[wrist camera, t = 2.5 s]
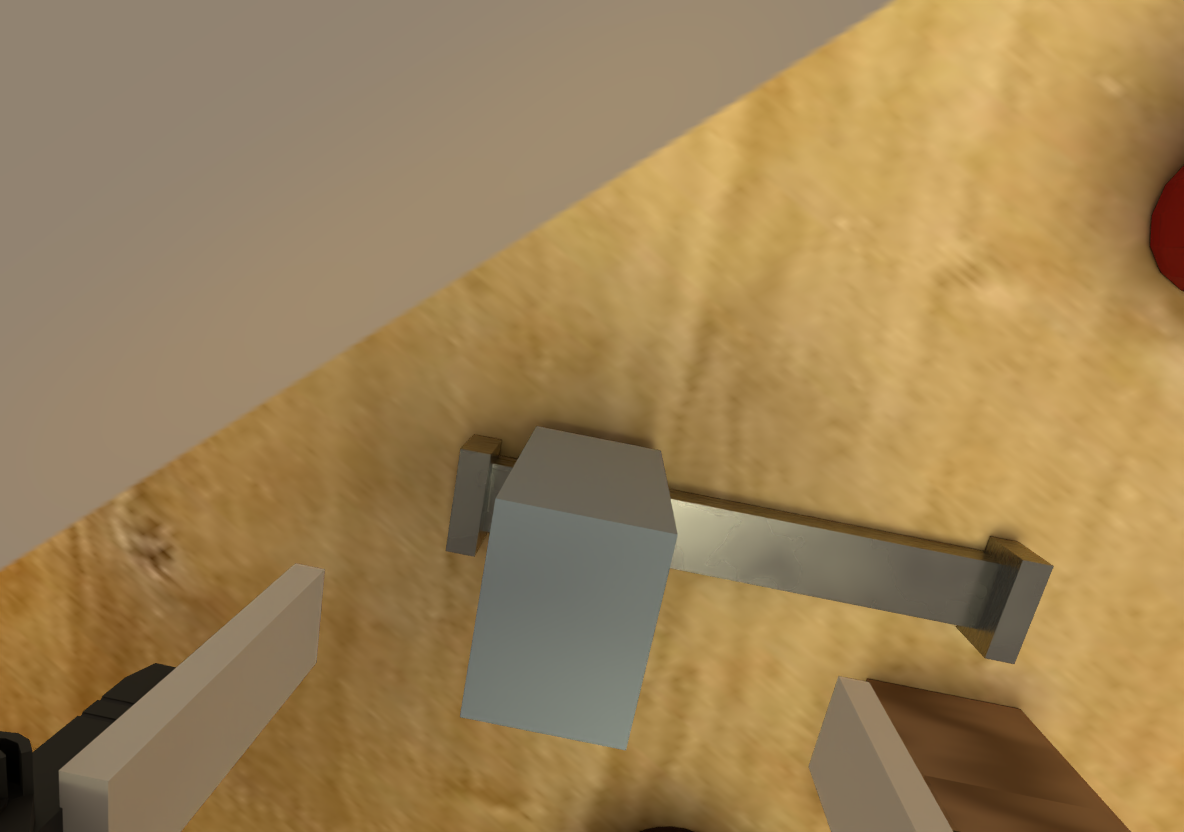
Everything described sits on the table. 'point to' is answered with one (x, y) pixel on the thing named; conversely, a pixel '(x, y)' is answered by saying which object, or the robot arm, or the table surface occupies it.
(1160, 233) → the plastic cup
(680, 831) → the coffee mug
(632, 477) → the carriage
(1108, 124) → the table surface
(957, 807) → the wooden box
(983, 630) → the rail
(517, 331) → the table surface
